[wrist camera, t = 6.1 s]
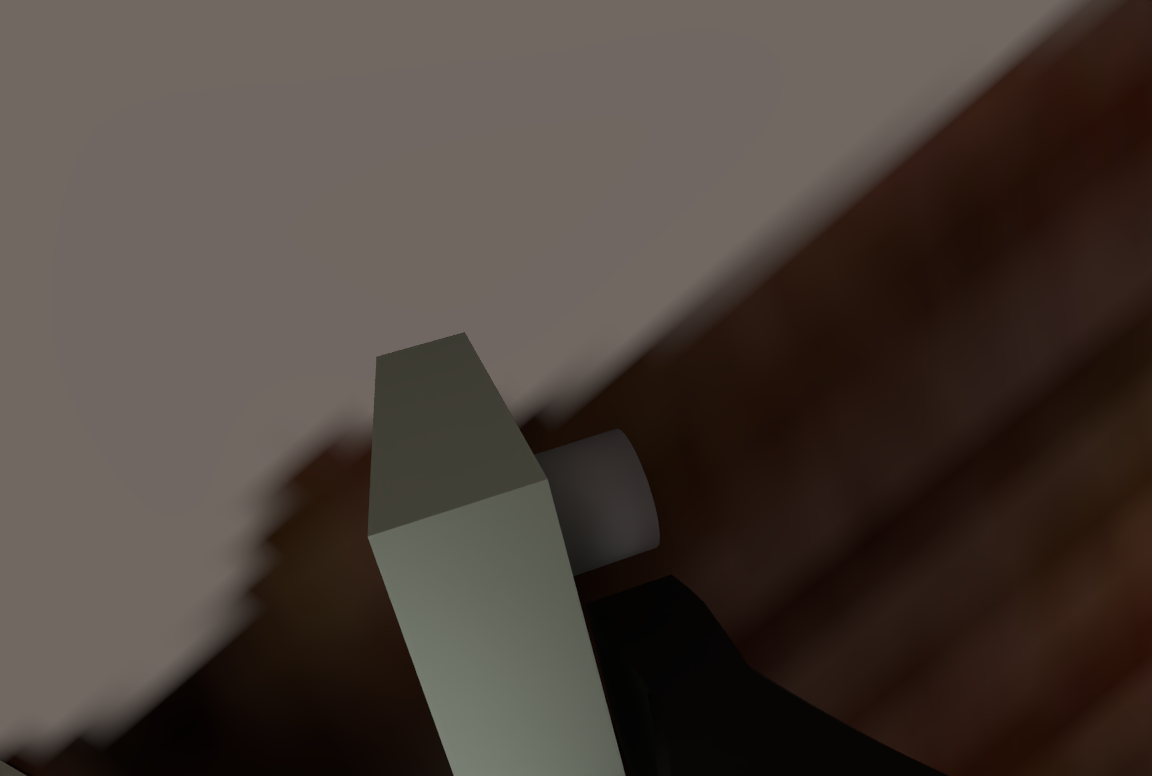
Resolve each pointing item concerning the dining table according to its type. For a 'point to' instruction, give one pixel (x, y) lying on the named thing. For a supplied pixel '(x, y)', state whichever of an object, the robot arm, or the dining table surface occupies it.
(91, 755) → the dining table surface
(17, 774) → the white box
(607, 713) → the door
